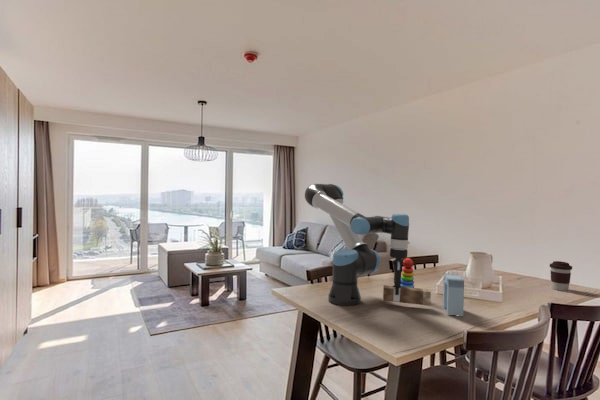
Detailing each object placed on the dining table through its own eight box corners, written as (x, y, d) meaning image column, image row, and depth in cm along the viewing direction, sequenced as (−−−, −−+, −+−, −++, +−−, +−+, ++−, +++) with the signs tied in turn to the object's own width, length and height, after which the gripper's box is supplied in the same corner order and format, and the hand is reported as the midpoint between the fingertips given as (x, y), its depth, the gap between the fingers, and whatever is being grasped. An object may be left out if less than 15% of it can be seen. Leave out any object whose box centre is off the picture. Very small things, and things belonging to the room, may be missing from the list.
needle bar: (383, 300, 154) (383, 287, 154) (383, 297, 158) (383, 285, 158) (430, 305, 149) (430, 292, 149) (429, 302, 153) (429, 289, 153)
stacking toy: (396, 296, 170) (397, 258, 169) (400, 292, 177) (401, 256, 176) (413, 298, 166) (414, 260, 166) (416, 294, 173) (417, 257, 173)
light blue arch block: (447, 315, 143) (448, 279, 143) (442, 306, 155) (443, 273, 155) (463, 316, 142) (464, 280, 142) (457, 307, 154) (458, 274, 153)
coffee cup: (576, 292, 183) (577, 264, 183) (557, 291, 183) (558, 263, 183) (562, 287, 193) (563, 260, 193) (544, 286, 193) (545, 260, 193)
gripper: (408, 252, 144) (406, 307, 145) (406, 246, 161) (403, 295, 162) (390, 251, 146) (387, 305, 147) (390, 244, 163) (387, 293, 164)
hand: (396, 299), depth 155 cm, fingers closed on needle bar, 4 cm apart
